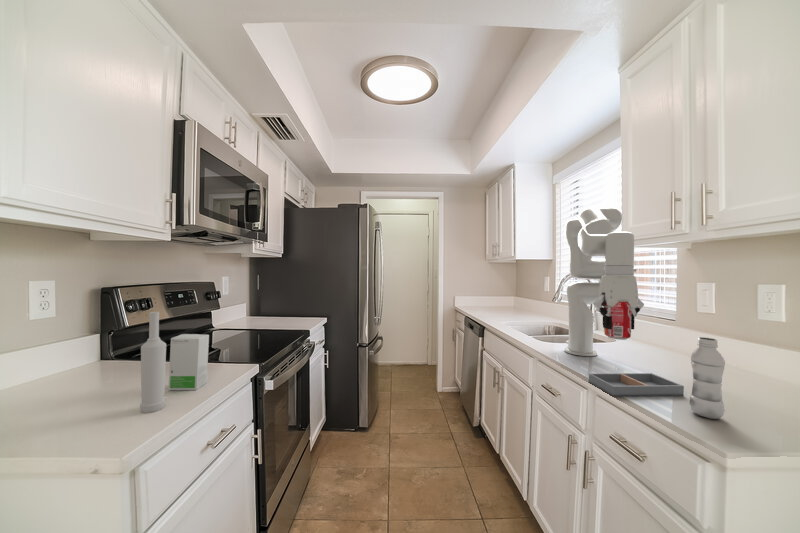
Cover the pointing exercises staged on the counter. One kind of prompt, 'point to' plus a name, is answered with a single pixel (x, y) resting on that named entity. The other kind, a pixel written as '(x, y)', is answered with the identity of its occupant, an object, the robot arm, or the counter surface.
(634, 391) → the grey divided tray
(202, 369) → the skincare box
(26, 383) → the counter surface
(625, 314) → the soda can
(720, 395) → the plastic bottle
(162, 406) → the bottle
